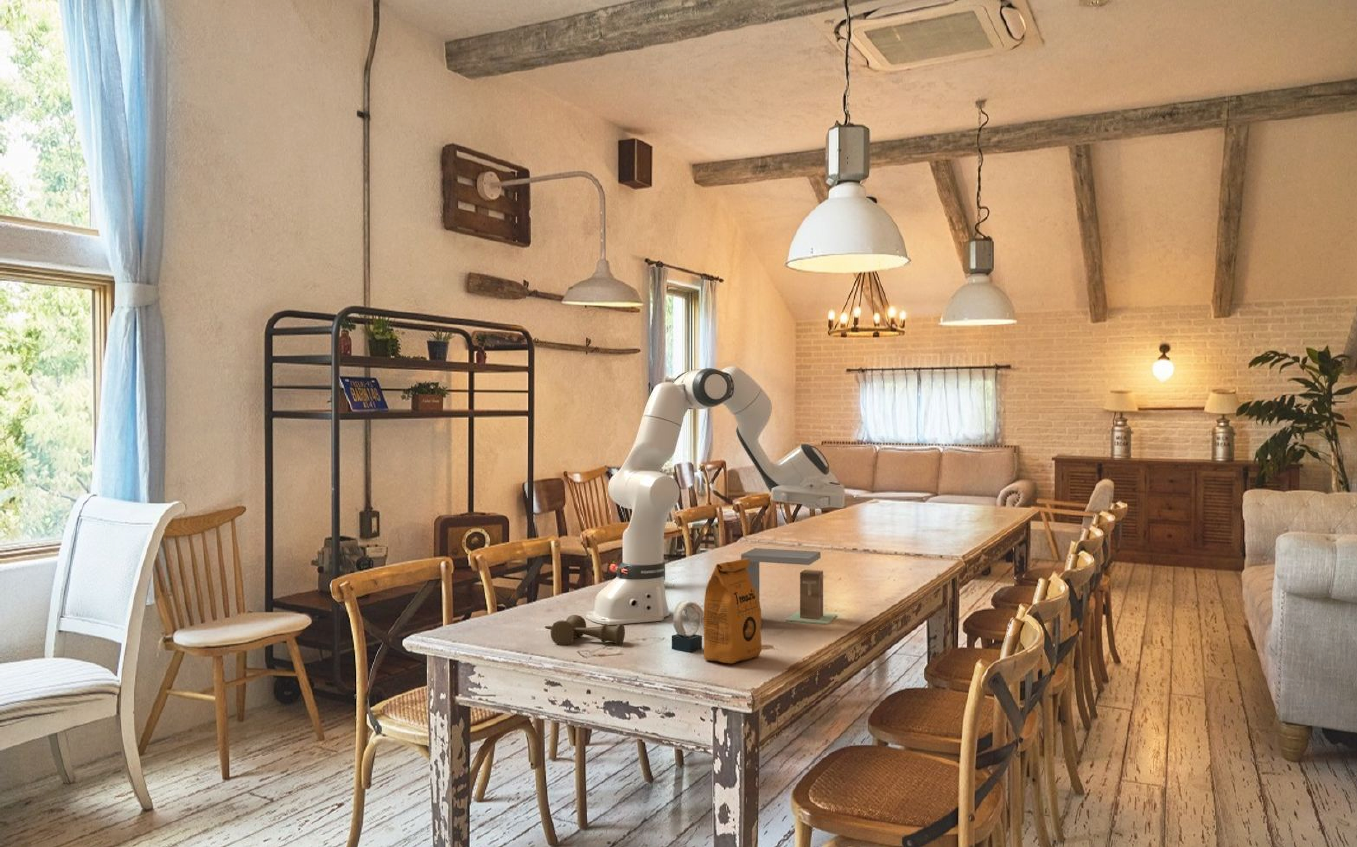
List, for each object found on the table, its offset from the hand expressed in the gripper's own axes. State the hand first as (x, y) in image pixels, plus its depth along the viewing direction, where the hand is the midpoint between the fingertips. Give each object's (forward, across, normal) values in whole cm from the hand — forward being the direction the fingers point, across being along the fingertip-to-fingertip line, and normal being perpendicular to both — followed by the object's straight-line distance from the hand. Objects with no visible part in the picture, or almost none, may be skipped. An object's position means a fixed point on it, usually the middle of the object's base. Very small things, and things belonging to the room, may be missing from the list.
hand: (801, 501), depth 254 cm
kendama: (+50, -39, +30) cm, 70 cm away
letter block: (+6, +6, +30) cm, 31 cm away
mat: (+6, +6, +30) cm, 31 cm away
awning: (+17, 0, +29) cm, 34 cm away
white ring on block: (+47, -14, +28) cm, 57 cm away
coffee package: (+52, -1, +27) cm, 58 cm away
